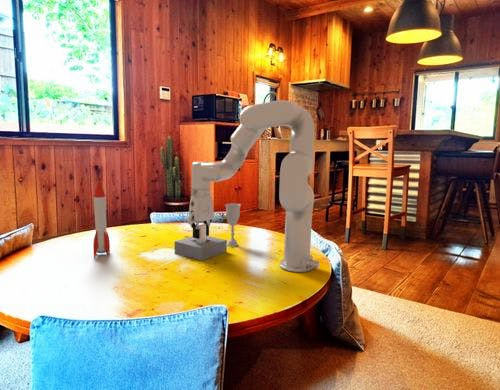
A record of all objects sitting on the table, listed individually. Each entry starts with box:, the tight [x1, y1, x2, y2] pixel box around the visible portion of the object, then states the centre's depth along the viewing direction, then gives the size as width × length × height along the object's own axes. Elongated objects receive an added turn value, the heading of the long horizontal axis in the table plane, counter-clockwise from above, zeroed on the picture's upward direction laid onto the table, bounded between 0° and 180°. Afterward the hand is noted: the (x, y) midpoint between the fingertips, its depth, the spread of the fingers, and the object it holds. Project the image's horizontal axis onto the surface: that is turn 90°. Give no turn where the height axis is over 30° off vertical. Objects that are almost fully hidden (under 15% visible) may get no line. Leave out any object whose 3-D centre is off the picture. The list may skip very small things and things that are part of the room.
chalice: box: [224, 203, 242, 248], centre depth 163 cm, size 7×7×18 cm
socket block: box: [174, 235, 228, 262], centre depth 152 cm, size 15×15×5 cm
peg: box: [196, 222, 206, 244], centre depth 152 cm, size 4×4×12 cm
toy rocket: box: [92, 179, 111, 258], centre depth 145 cm, size 6×6×30 cm
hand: (200, 236), depth 152 cm, fingers open, 5 cm apart
